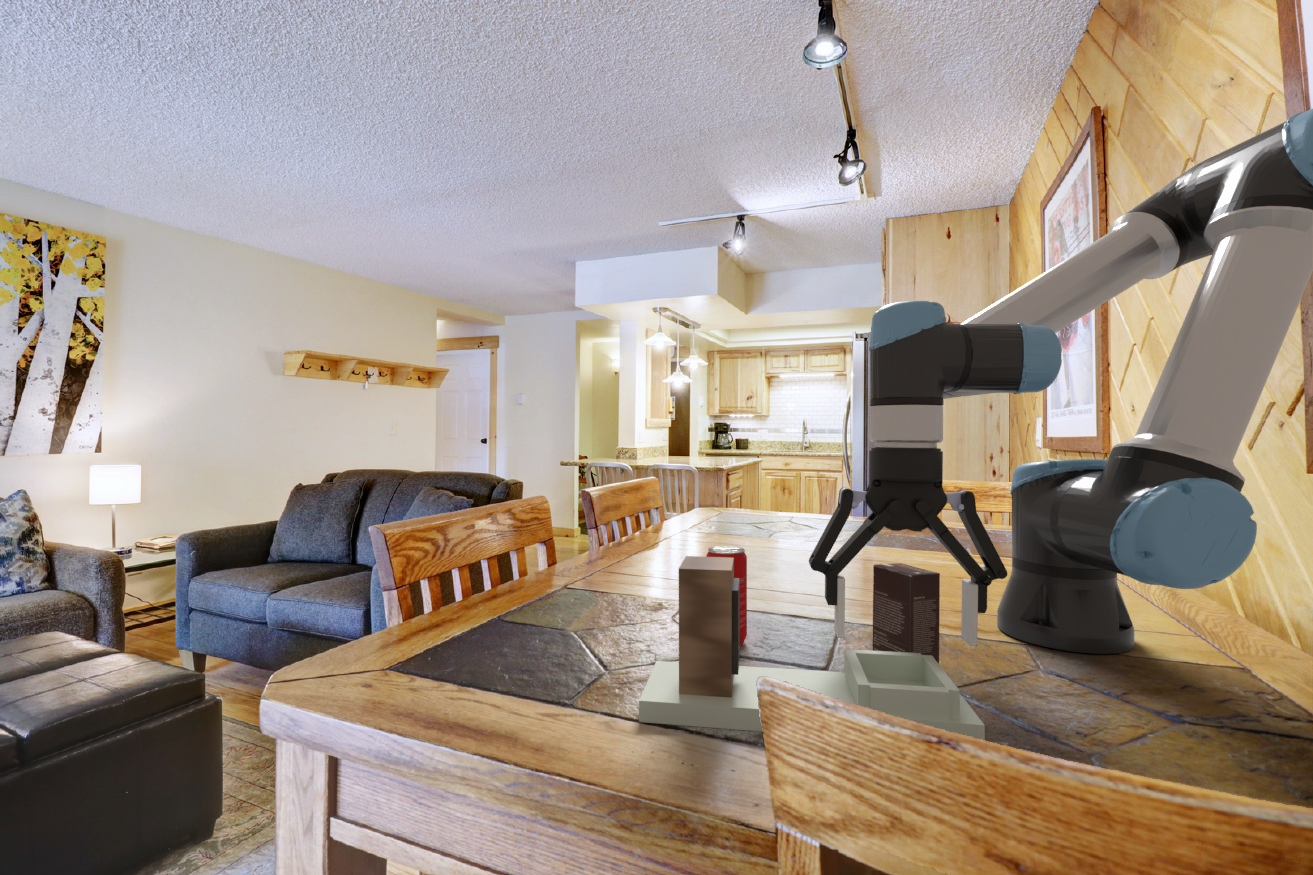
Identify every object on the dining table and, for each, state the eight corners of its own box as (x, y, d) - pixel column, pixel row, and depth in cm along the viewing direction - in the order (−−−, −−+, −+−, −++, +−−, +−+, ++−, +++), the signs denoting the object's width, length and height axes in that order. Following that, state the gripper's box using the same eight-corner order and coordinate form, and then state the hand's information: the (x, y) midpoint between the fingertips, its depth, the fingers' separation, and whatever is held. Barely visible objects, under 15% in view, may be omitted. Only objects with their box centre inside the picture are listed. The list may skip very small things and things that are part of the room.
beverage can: (745, 650, 75) (745, 554, 75) (704, 648, 76) (703, 552, 76) (747, 637, 80) (747, 546, 80) (708, 634, 81) (708, 545, 81)
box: (942, 684, 65) (942, 572, 65) (908, 690, 63) (908, 575, 63) (901, 664, 71) (901, 561, 71) (869, 669, 69) (869, 564, 69)
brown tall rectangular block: (739, 673, 63) (739, 557, 63) (738, 697, 57) (737, 570, 57) (686, 669, 64) (685, 556, 64) (678, 693, 58) (678, 568, 58)
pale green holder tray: (948, 697, 62) (948, 653, 62) (984, 748, 52) (984, 695, 52) (656, 679, 66) (656, 638, 66) (639, 721, 57) (638, 673, 57)
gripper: (1013, 446, 69) (1011, 633, 69) (787, 443, 73) (786, 620, 73) (1044, 447, 61) (1042, 657, 61) (791, 444, 65) (789, 641, 65)
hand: (903, 638), depth 67 cm, fingers open, 13 cm apart
